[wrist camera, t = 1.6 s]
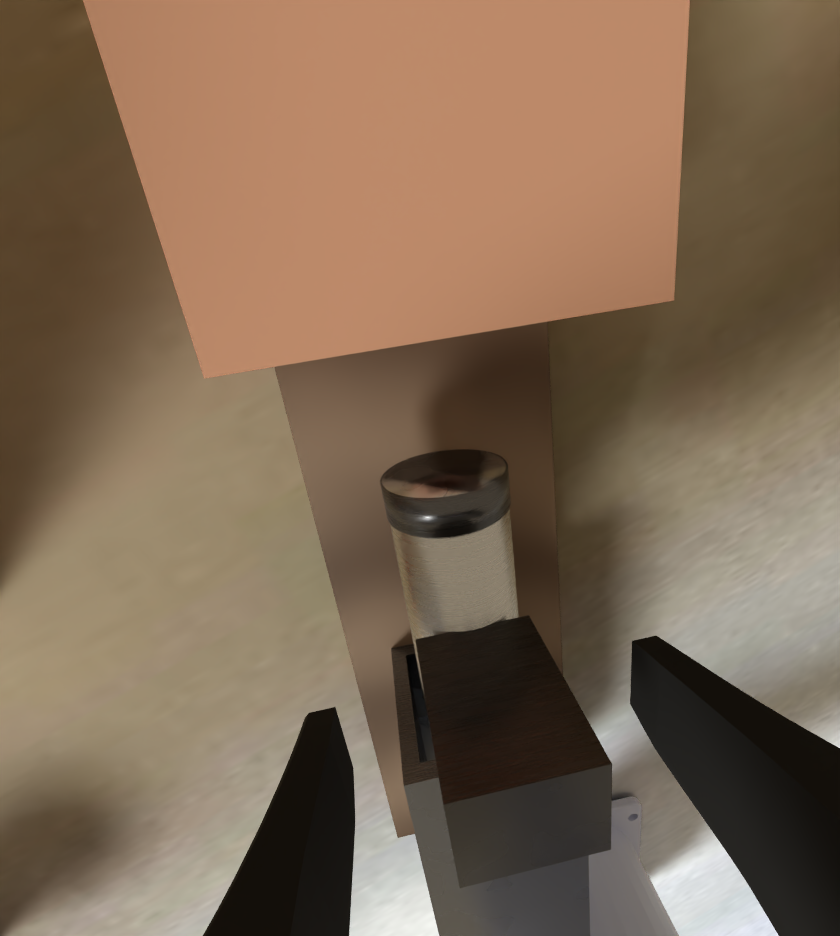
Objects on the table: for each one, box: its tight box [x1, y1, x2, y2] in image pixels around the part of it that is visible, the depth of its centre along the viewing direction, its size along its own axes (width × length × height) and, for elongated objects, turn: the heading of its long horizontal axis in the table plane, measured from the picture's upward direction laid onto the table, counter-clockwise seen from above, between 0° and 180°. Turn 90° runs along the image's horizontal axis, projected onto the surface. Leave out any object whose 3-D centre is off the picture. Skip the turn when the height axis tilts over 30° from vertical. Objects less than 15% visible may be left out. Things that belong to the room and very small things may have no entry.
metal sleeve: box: [391, 644, 590, 936], centre depth 16 cm, size 10×5×5 cm, turn 8°
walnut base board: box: [275, 322, 563, 838], centre depth 16 cm, size 26×8×1 cm, turn 8°
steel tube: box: [380, 449, 612, 888], centre depth 12 cm, size 16×3×7 cm, turn 8°
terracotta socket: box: [83, 0, 690, 378], centre depth 9 cm, size 5×8×6 cm, turn 99°
